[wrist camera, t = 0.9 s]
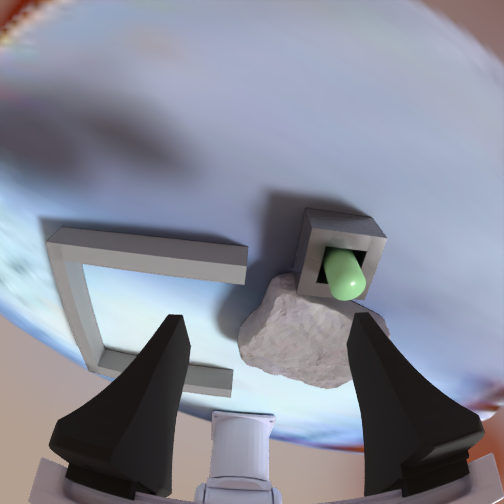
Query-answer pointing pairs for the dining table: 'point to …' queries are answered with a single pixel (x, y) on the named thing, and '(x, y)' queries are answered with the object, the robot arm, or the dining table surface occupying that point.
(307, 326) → the stone block
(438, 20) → the dining table surface
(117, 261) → the corral
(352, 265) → the button
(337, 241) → the button box
